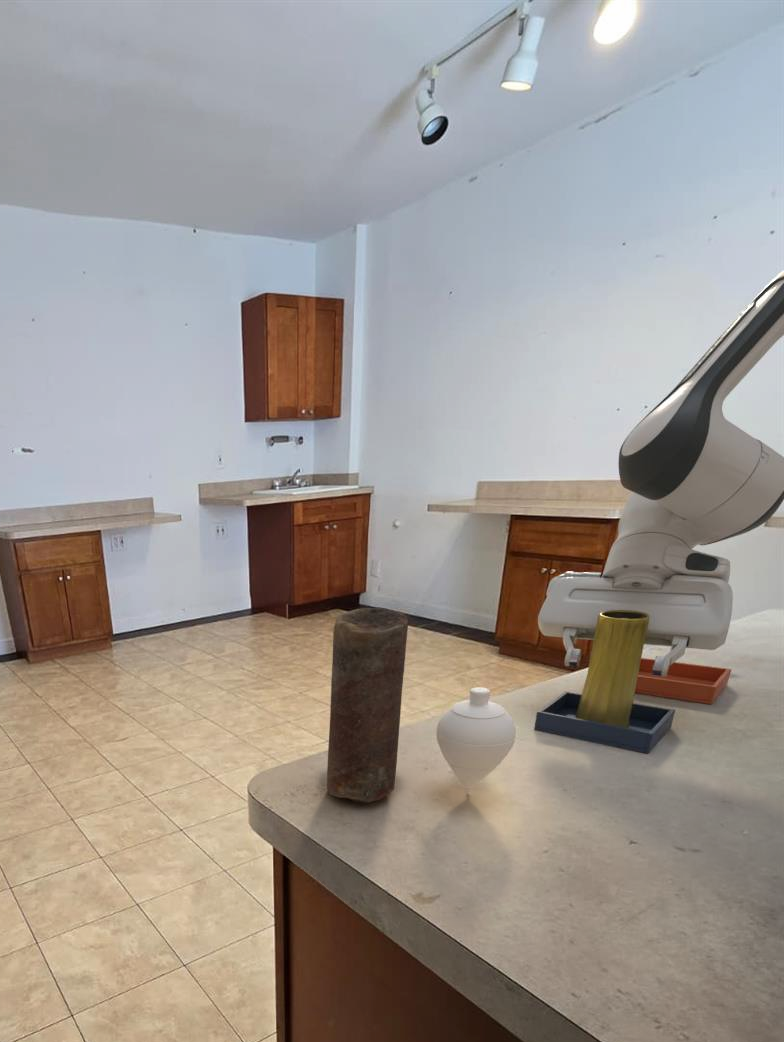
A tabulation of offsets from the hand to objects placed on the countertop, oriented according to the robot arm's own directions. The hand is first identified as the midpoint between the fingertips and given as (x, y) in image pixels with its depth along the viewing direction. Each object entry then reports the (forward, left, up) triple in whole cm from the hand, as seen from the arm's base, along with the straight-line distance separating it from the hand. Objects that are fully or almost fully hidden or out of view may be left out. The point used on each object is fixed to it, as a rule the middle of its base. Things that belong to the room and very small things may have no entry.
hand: (613, 668), depth 79 cm
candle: (+14, +33, -8) cm, 37 cm away
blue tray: (0, -1, -8) cm, 8 cm away
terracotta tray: (-2, -23, -8) cm, 24 cm away
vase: (0, -1, -8) cm, 8 cm away
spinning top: (+5, +26, -8) cm, 28 cm away
